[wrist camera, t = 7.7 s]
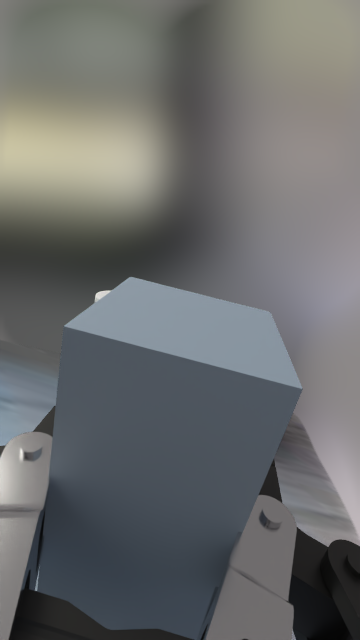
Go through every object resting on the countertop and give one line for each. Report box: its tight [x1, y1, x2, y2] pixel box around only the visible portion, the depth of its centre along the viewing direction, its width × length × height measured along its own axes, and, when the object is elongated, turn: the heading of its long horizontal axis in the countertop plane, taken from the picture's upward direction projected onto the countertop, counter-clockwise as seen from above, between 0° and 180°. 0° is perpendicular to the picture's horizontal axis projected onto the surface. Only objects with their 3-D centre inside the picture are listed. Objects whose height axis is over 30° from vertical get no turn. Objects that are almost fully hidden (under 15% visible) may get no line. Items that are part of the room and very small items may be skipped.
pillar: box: [37, 277, 302, 640], centre depth 10 cm, size 4×4×11 cm
